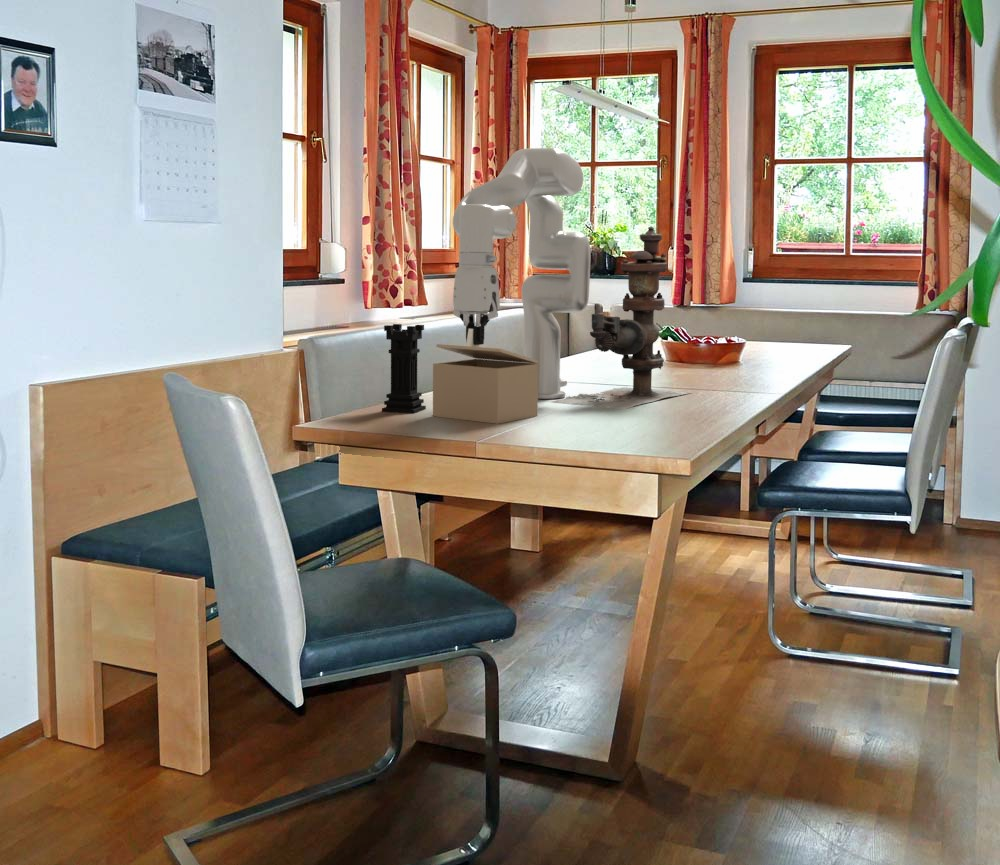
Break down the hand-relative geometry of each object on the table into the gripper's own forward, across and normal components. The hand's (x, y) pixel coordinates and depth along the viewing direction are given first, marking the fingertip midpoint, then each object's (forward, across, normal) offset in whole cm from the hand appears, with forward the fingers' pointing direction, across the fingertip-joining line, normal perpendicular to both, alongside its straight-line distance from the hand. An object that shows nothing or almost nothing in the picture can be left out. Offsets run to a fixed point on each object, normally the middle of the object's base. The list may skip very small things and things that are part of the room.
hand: (474, 343), depth 249 cm
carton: (+17, 0, -4) cm, 17 cm away
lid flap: (+3, 0, -5) cm, 6 cm away
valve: (+17, -7, -57) cm, 60 cm away
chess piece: (+17, +20, +1) cm, 26 cm away
